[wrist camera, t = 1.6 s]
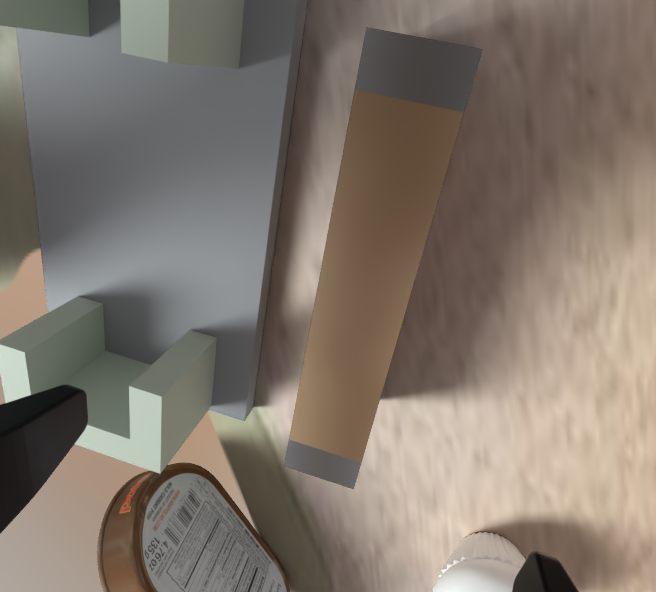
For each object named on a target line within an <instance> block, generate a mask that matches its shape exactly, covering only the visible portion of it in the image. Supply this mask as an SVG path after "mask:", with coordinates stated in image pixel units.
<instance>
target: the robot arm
mask: <svg viewBox="0 0 656 592" xmlns="http://www.w3.org/2000/svg"><path fill="white" fill-rule="evenodd" d="M87 424H88V407H87V395H86V392H85V391H84V390H83V389H80V388H78V387H75V386H72V385H68V384H65V385H60V386H57V387H54V388H51V389H48V390H45V391H42V392H39V393H35V394H32V395H29V396H26V397H23V398H20V399H17V400H14V401H11V402H8V403H5V404H2V405H0V533H1V532H2V531H3V530H4V529H5V528H6V527H7V526H8V525H9V523H10V522H11V521H12V520H13V519H14V518H15V517H16V516H17V515H18V514H19V513H20V511H21V510H22V509H23V508H24V507H25V506H26V505H27V504H28V503H29V502H30V500H31V499H32V498H33V497H34V496H35V494H36V493H37V492H38V491H39V490H40V488H41V487H42V486H43V485H44V483H45V482H46V481H47V479H48V478H49V477H50V475H51V474H52V472H53V471H54V470H55V469H56V468H57V466H58V465H59V463H60V462H61V461H62V460H63V458H64V457H65V456H66V454H67V453H68V452H69V450H70V449H71V448H72V446H73V445H74V444H75V443H76V441H77V440H78V439H79V437H80V436H81V435H82V433H83V432H84V430H85V428H86V426H87ZM512 592H579V591H578V590H577V588H576V586H575V585H574V583H573V582H572V580H571V578H570V577H569V575H568V574H567V572H566V570H565V569H564V567H563V566H562V564H561V563H560V562H559V561H558V560H557V559H556V558H554V557H551V556H549V555H546V554H543V553H540V552H537V551H534V552H532V553H531V554H530V555H529V556H528V558H527V559H526V561H525V563H524V564H523V566H522V567H521V569H520V571H519V572H518V574H517V576H516V578H515V580H514V583H513V589H512Z"/></svg>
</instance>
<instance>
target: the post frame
mask: <svg viewBox="0 0 656 592" xmlns="http://www.w3.org/2000/svg"><path fill="white" fill-rule="evenodd" d="M307 3H308V0H0V25H2V26H9V27H16V33H17V41H18V50H19V59H20V68H21V77H22V86H23V95H24V104H25V113H26V122H27V130H28V139H29V148H30V157H31V166H32V175H33V184H34V193H35V202H36V211H37V219H38V228H39V237H40V246H41V255H42V263H43V272H44V282H45V291H46V299H47V308H48V313H47V314H45V315H43V316H42V317H40V318H38V319H37V320H34V321H33V322H31V323H29V324H28V325H26V326H24V327H22V328H20V329H19V330H17V331H15V332H13V333H11V334H10V335H8V336H6V337H4V338H2V339H1V340H0V374H1V380H2V385H3V391H4V397H5V402H6V403H8V402H11V401H14V400H17V399H20V398H23V397H26V396H29V395H32V394H35V393H39V392H42V391H45V390H48V389H51V388H54V387H57V386H60V385H65V384H68V385H72V386H75V387H78V388H80V389H83V390H84V391H85V392H86V395H87V407H88V424H87V426H86V428H85V430H84V432H83V433H82V435H81V436H80V437H79V439H78V440H77V441H76V443H75V444H76V445H79V446H82V447H85V448H88V449H91V450H93V451H96V452H99V453H102V454H105V455H108V456H111V457H114V458H117V459H119V460H122V461H125V462H128V463H131V464H134V465H136V466H139V467H142V468H145V469H148V470H151V471H153V472H156V473H159V474H161V472H162V471H163V470H164V468H165V467H166V466H167V464H168V463H169V462H170V460H171V459H172V458H173V456H174V455H175V454H176V452H177V451H178V450H179V448H180V447H181V446H182V444H183V443H184V442H185V440H186V439H187V438H188V436H189V435H190V434H191V432H192V431H193V430H194V428H195V427H196V426H197V424H198V423H199V422H200V420H201V419H202V418H203V416H204V415H205V414H206V413H207V411H208V410H212V411H215V412H218V413H221V414H224V415H227V416H230V417H233V418H236V419H240V420H243V421H245V420H246V418H247V416H248V415H249V413H250V412H251V410H252V408H253V404H254V397H255V389H256V382H257V374H258V367H259V359H260V352H261V345H262V337H263V330H264V322H265V315H266V307H267V300H268V293H269V285H270V278H271V270H272V263H273V256H274V248H275V241H276V233H277V226H278V218H279V211H280V204H281V196H282V189H283V181H284V174H285V166H286V159H287V152H288V144H289V137H290V129H291V122H292V115H293V107H294V100H295V92H296V85H297V77H298V70H299V63H300V55H301V48H302V40H303V33H304V25H305V18H306V11H307Z"/></svg>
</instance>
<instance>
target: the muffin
mask: <svg viewBox="0 0 656 592" xmlns="http://www.w3.org/2000/svg"><path fill="white" fill-rule="evenodd" d="M525 561H526V560H525V558H524V557H523V556H522V555H521V553H520V552H519V551H518V549H517V548H516V547H515V546H514V545H513V543H511V542H510V541H509V540H508V539H505V538H504V537H503V536H499V535H498V534H493V533H487V532H484V533H481V532H479V533H477V534H475V533H473V534H472V535H468V536H467V537H464V539H463V540H462V541H461V542H460V543H459V544H458V546H457V547H456V549H455V550H454V552H453V553H452V555H451V556H450V558H449V559H448V561H447V562H446V564H445V565H444V566H443V568H442V570H441V572H440V573H439V575H438V576H439V579H438V580H437V582H436V584H435V586H434V588H433V591H432V592H512V589H513V583H514V580H515V578H516V576H517V574H518V572H519V571H520V569H521V567H522V566H523V564H524V563H525Z"/></svg>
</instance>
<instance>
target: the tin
mask: <svg viewBox="0 0 656 592" xmlns="http://www.w3.org/2000/svg"><path fill="white" fill-rule="evenodd" d="M97 563H98V570H99V576H100V581H101V585H102V588H103V591H104V592H290V589H289V585H288V582H287V579H286V576H285V574H284V571H283V569H282V567H281V565H280V563H279V561H278V560H277V558H276V557H275V556H274V554H273V553H272V552H271V550H270V549H269V548H268V546H267V545H266V544H265V542H264V541H263V540H262V538H261V537H260V536H259V534H258V533H257V532H256V530H255V529H254V528H253V526H252V525H251V524H250V522H249V521H248V520H247V518H246V517H245V516H244V514H243V513H242V512H241V511H240V509H239V508H238V506H237V505H236V504H235V502H234V501H233V500H232V498H231V497H230V496H229V495H228V493H227V492H226V491H225V489H224V488H223V487H222V485H221V484H220V483H219V481H218V480H217V479H216V478H215V477H214V476H213V475H212V474H211V473H210V472H209V471H207V470H206V469H204V468H202V467H201V466H198V465H195V464H191V463H176V464H171V465H167V466H166V467H165V468H164V470H163V471H162V472H161V474H159V473H156V472H153V471H147V472H144V473H141V474H139V475H137V476H135V477H133V478H132V479H131V480H129V481H128V482H127V483H126V484H125V485H123V486H122V488H121V489H120V490H119V491H118V492H117V493H116V495H115V496H114V498H113V499H112V501H111V502H110V504H109V506H108V508H107V510H106V513H105V515H104V518H103V521H102V524H101V529H100V533H99V538H98V545H97Z"/></svg>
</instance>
